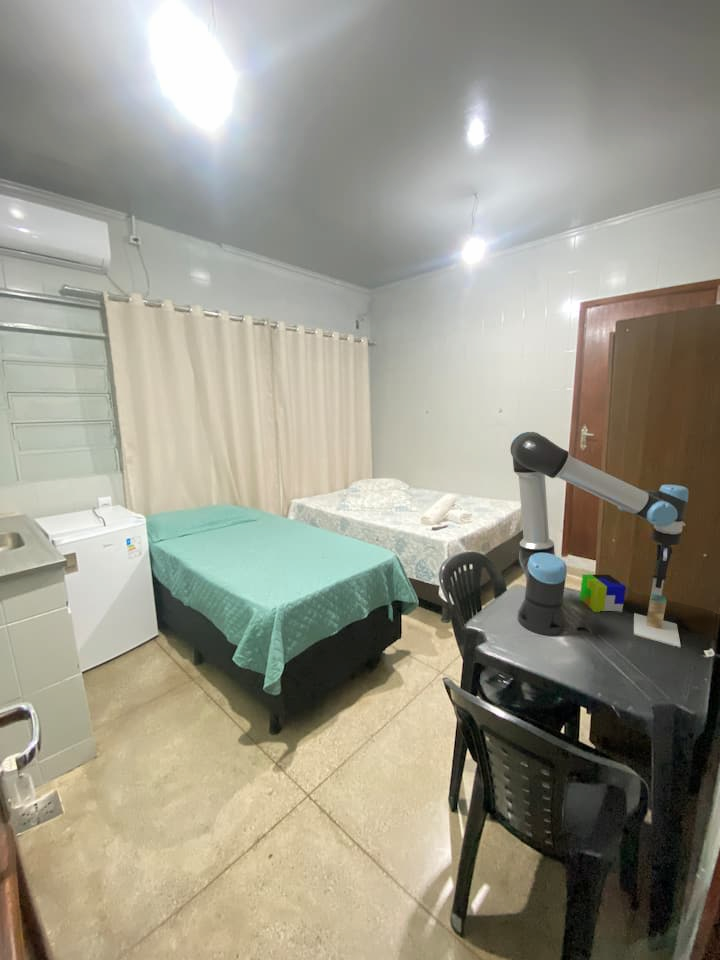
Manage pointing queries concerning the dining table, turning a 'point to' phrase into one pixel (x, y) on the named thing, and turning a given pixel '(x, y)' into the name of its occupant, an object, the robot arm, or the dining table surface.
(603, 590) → the puzzle toy
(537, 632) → the robot arm
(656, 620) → the block
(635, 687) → the dining table surface
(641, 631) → the mat
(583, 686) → the dining table surface
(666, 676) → the dining table surface
